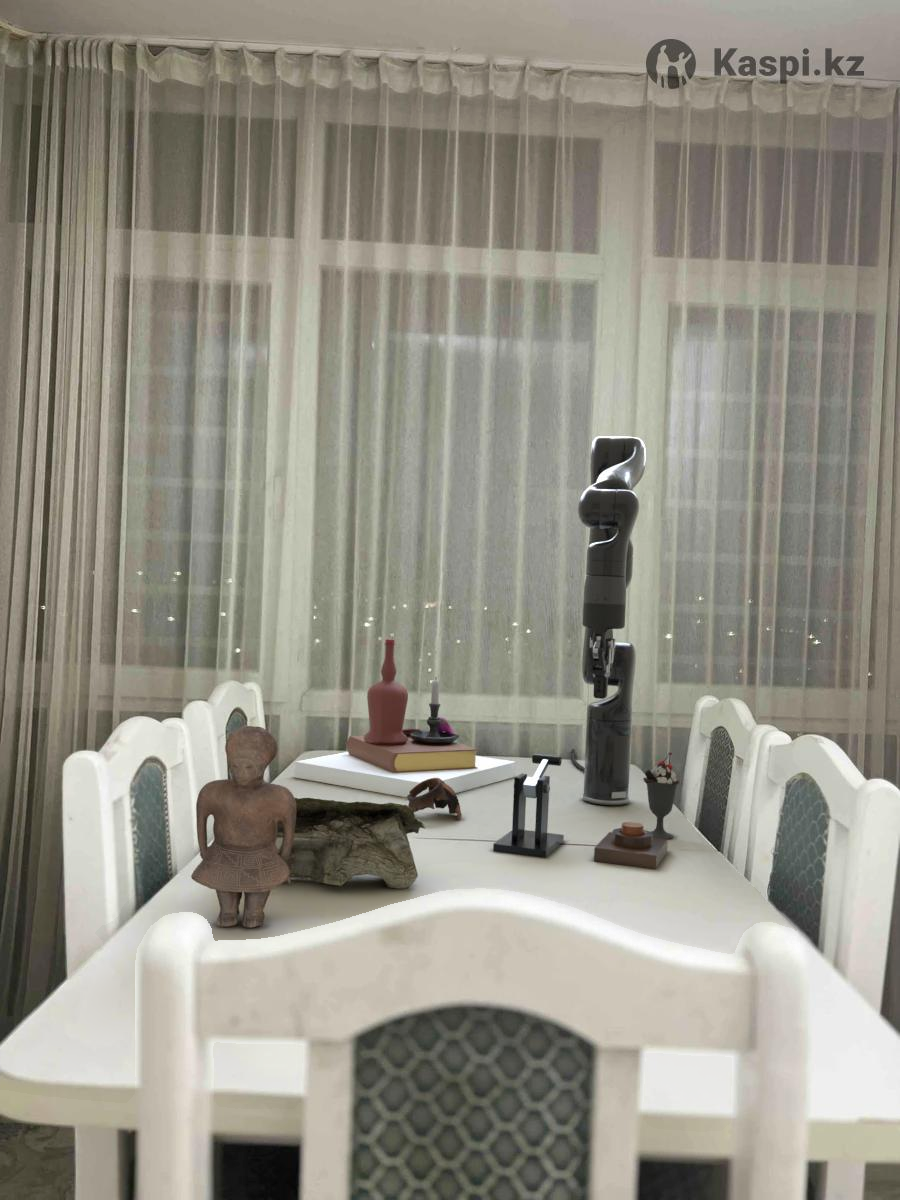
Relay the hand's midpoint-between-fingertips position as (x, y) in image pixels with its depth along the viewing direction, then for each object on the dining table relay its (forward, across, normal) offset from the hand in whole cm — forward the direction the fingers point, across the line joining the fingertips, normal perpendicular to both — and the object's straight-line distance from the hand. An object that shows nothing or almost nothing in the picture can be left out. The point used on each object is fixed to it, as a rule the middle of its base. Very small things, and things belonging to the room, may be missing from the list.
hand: (600, 697), depth 188 cm
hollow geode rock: (+24, -48, +29) cm, 61 cm away
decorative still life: (+25, +34, +49) cm, 65 cm away
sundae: (+25, +5, -11) cm, 27 cm away
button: (+21, -12, -9) cm, 26 cm away
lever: (+14, -9, +8) cm, 19 cm away
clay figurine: (+24, -70, +30) cm, 80 cm away
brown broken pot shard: (+25, -1, +30) cm, 39 cm away
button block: (+24, -12, -9) cm, 29 cm away
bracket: (+24, -14, +8) cm, 29 cm away
